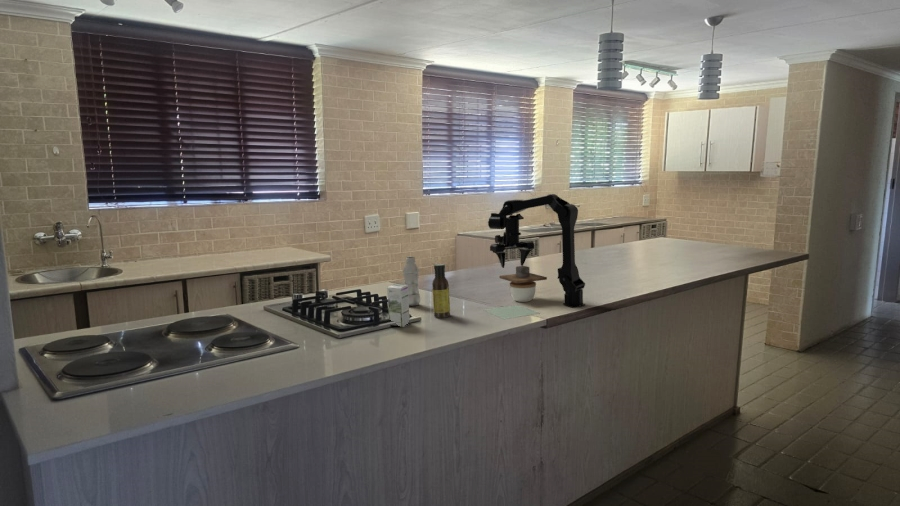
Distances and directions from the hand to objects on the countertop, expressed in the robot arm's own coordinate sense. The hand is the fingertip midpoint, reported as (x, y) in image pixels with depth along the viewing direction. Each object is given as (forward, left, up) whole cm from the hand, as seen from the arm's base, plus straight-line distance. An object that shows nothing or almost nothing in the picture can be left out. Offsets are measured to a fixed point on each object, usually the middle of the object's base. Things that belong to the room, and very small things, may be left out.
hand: (512, 266), depth 244 cm
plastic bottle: (+42, -10, -14) cm, 45 cm away
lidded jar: (0, +8, -14) cm, 16 cm away
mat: (+14, +22, -13) cm, 29 cm away
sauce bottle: (+39, +13, -14) cm, 43 cm away
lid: (0, +8, -4) cm, 9 cm away
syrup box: (+57, +16, -14) cm, 60 cm away
